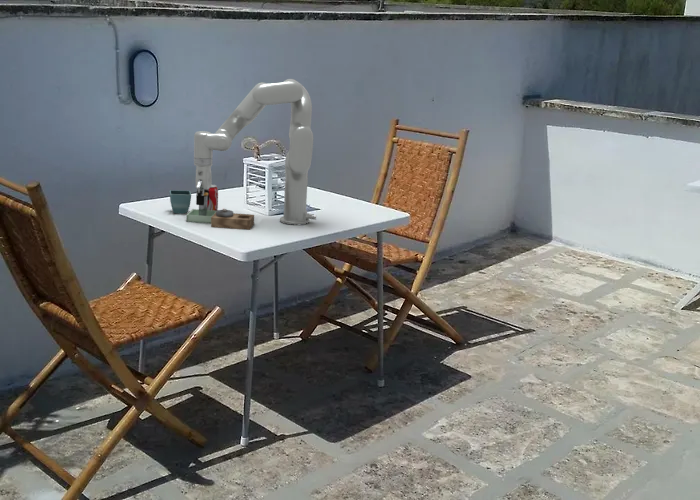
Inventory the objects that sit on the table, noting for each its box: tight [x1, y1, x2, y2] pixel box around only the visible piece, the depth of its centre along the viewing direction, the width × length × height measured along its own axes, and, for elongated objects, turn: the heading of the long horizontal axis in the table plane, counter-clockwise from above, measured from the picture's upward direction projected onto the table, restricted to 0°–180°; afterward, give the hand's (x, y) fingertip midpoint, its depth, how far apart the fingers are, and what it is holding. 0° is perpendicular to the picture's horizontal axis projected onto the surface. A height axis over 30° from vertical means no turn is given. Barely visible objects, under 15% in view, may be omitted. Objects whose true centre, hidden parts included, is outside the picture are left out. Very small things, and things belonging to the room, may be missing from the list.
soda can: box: [207, 184, 219, 211], centre depth 349 cm, size 7×7×12 cm
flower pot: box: [169, 189, 192, 215], centre depth 346 cm, size 9×9×9 cm
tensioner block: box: [210, 208, 255, 231], centre depth 330 cm, size 16×10×7 cm, turn 87°
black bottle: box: [198, 192, 208, 216], centre depth 336 cm, size 4×4×11 cm
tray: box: [185, 208, 216, 225], centre depth 337 cm, size 11×11×3 cm
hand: (202, 202), depth 335 cm, fingers open, 8 cm apart
